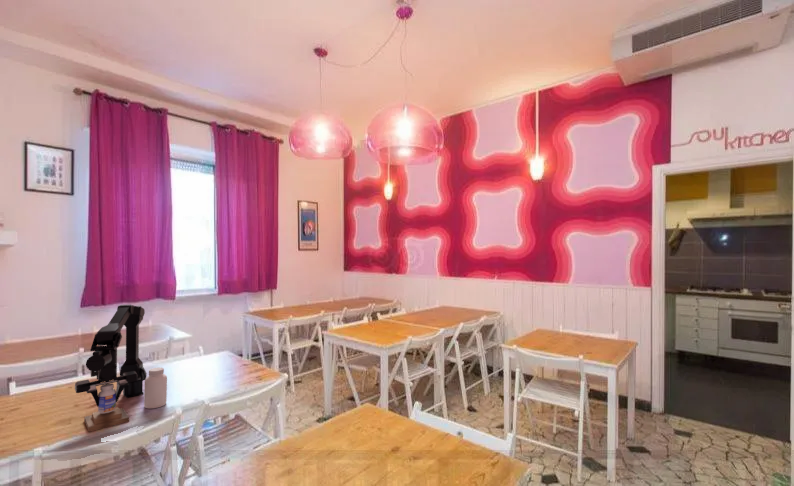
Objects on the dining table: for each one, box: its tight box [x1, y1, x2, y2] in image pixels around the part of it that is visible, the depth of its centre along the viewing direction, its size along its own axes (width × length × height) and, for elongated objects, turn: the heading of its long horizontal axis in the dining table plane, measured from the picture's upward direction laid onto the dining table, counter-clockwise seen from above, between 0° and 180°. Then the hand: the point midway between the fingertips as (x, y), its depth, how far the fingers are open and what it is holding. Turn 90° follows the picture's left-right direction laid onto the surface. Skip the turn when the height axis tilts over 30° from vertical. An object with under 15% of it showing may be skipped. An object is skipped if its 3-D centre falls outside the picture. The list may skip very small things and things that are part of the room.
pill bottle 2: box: [143, 367, 168, 410], centre depth 161 cm, size 8×8×15 cm
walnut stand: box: [84, 406, 130, 432], centre depth 146 cm, size 12×12×3 cm
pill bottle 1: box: [97, 383, 117, 414], centre depth 146 cm, size 5×5×10 cm
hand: (107, 404), depth 146 cm, fingers closed on pill bottle 1, 5 cm apart
